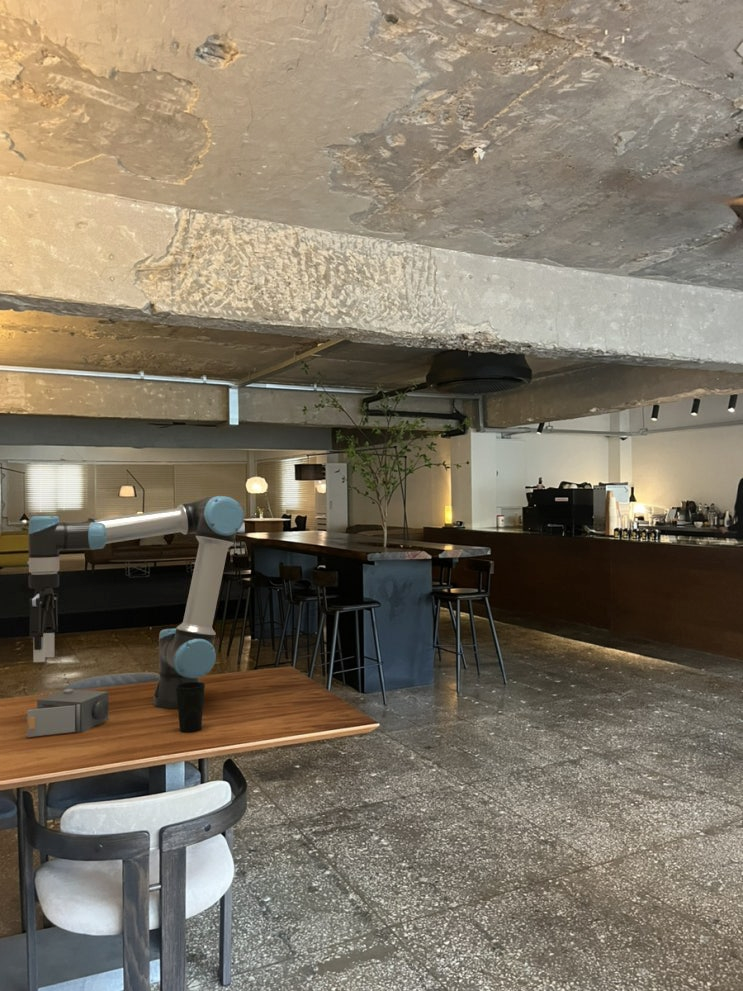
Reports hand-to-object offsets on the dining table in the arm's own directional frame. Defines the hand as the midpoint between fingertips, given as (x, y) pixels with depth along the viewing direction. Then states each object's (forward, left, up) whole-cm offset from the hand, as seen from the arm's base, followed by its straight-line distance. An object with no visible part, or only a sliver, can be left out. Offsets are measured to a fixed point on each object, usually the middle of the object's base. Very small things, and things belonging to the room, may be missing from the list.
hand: (44, 659), depth 193 cm
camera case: (-2, -9, -20) cm, 22 cm away
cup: (-37, -11, -20) cm, 44 cm away
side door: (-3, +1, -19) cm, 20 cm away
